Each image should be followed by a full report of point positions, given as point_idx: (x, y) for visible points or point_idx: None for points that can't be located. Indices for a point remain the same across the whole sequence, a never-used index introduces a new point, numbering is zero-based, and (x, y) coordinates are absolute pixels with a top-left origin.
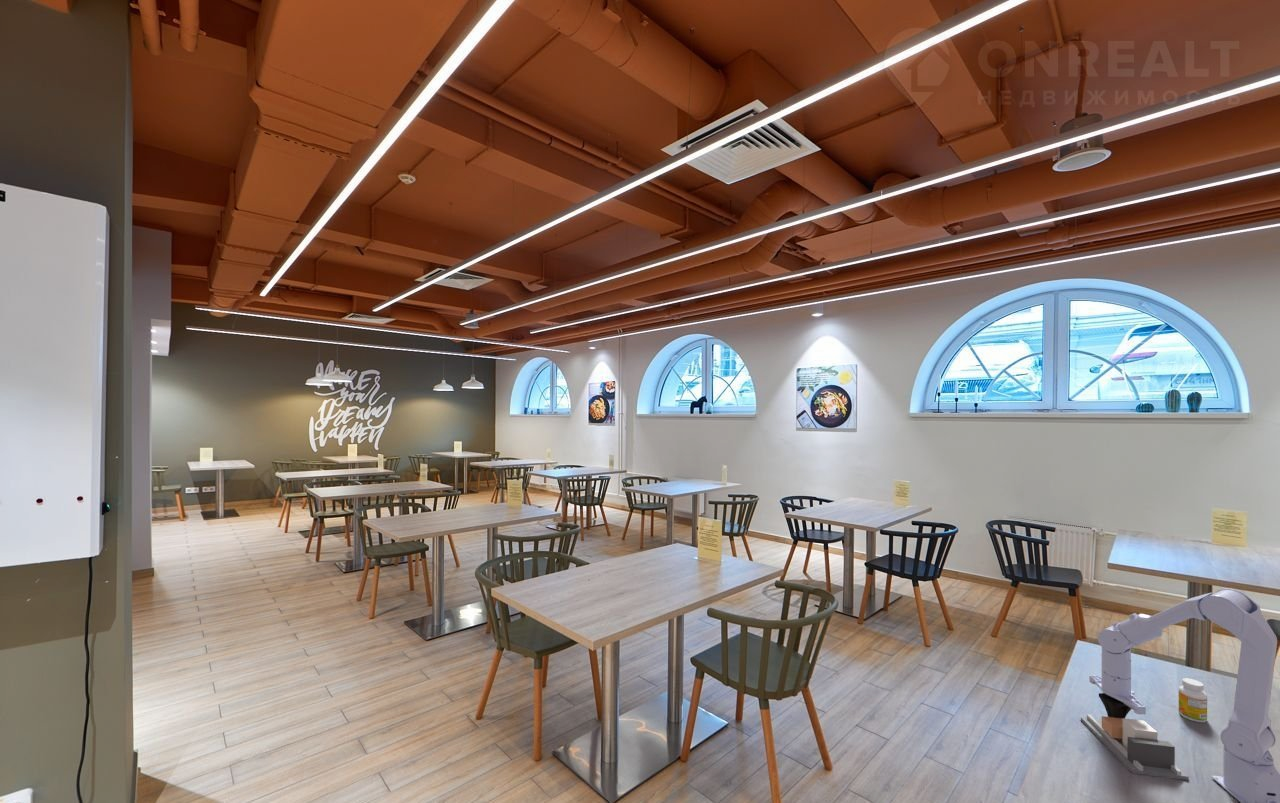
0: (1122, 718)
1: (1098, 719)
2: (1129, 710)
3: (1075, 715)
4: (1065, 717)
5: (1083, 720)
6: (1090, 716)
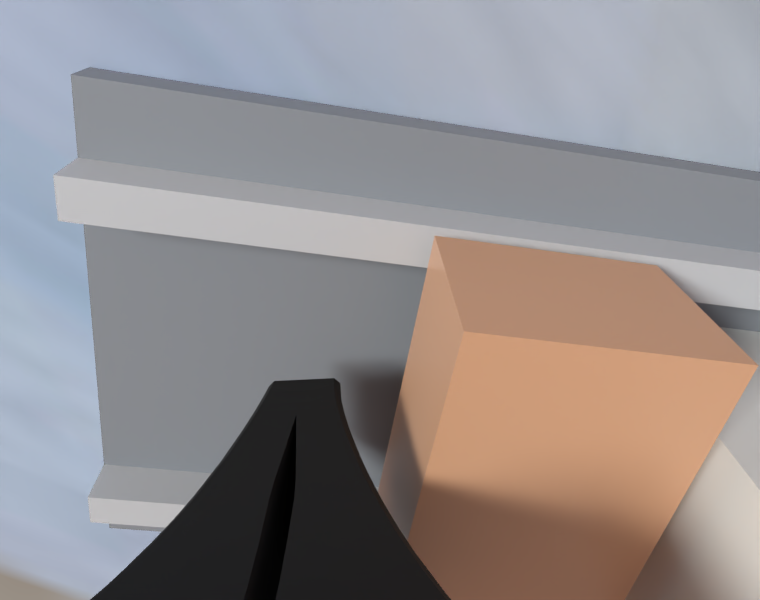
0: (411, 530)
1: (100, 401)
2: (438, 592)
3: (33, 498)
4: (103, 579)
5: (158, 528)
6: (128, 514)
